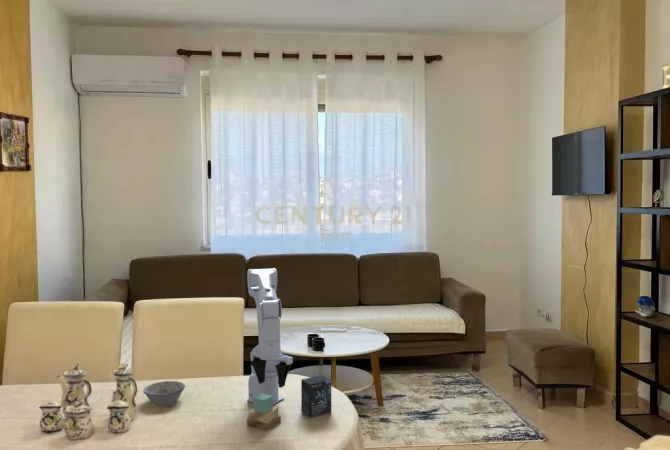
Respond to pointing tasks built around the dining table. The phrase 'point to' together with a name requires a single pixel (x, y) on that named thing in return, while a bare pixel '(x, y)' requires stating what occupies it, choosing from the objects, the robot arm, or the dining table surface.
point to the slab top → (263, 415)
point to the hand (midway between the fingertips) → (271, 384)
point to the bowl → (164, 392)
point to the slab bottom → (264, 424)
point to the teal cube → (263, 403)
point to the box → (316, 396)
